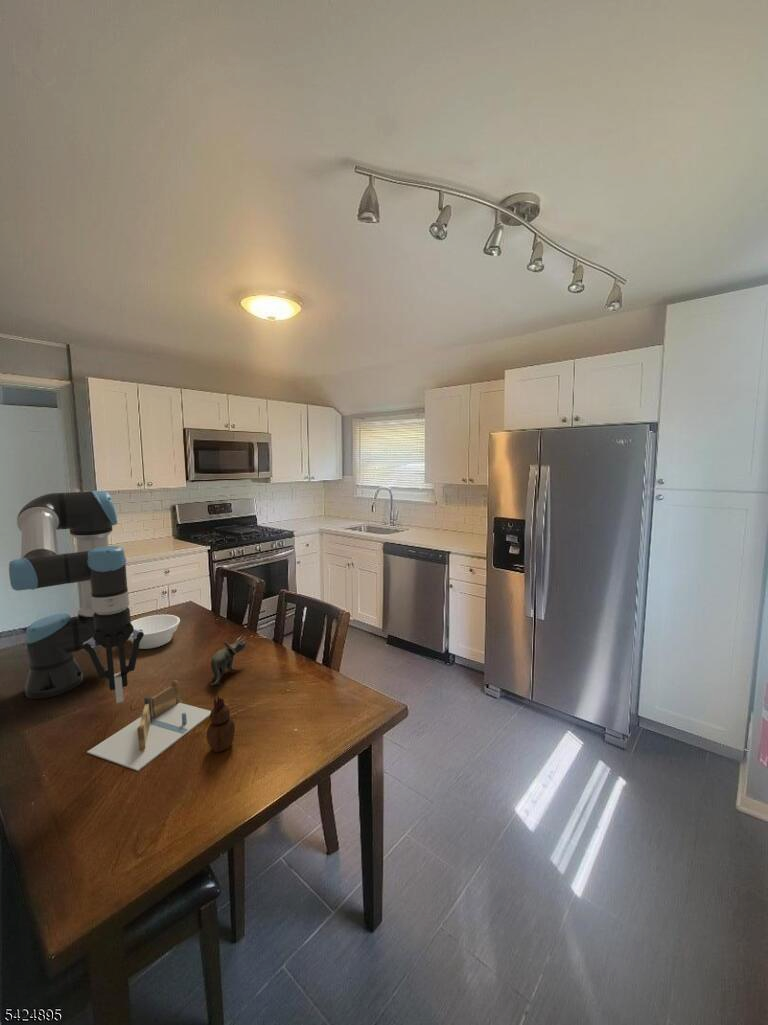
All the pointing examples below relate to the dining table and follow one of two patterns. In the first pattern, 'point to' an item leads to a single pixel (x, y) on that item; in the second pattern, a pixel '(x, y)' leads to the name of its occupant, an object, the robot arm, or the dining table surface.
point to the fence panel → (144, 727)
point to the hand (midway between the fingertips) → (119, 699)
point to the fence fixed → (163, 700)
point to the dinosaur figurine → (225, 659)
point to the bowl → (155, 630)
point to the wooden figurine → (220, 727)
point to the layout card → (150, 736)
